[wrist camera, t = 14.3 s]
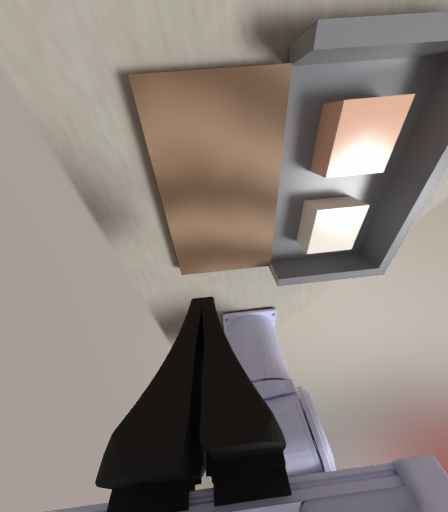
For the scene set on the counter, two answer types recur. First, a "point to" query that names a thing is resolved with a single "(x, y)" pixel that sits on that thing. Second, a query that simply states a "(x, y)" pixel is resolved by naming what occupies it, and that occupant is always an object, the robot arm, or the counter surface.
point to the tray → (403, 154)
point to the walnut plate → (216, 159)
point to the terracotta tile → (358, 135)
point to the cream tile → (330, 224)
